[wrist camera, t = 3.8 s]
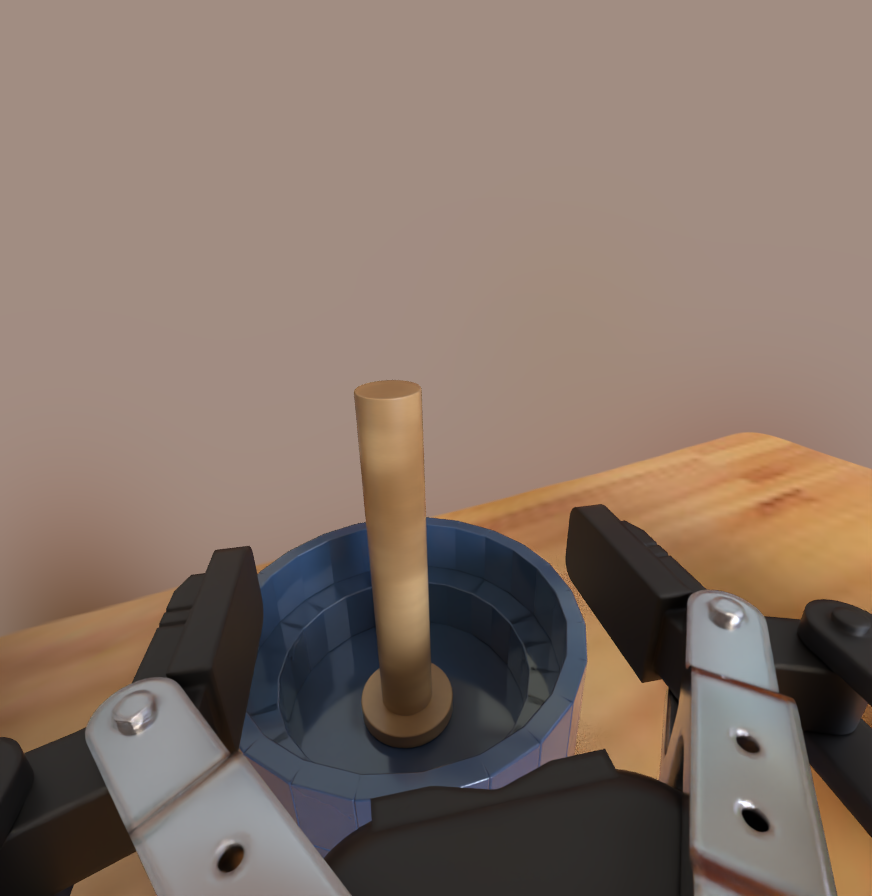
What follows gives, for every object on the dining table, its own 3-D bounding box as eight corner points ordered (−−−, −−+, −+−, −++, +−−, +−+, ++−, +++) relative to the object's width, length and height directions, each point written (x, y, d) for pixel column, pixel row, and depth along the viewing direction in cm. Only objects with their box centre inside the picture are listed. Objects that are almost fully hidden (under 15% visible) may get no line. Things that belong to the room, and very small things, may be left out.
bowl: (172, 926, 16) (119, 808, 14) (291, 607, 31) (275, 520, 28) (625, 911, 17) (656, 791, 14) (533, 600, 31) (540, 513, 28)
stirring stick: (356, 750, 21) (312, 410, 15) (367, 669, 25) (336, 374, 19) (455, 747, 21) (452, 406, 15) (450, 667, 25) (447, 371, 19)
